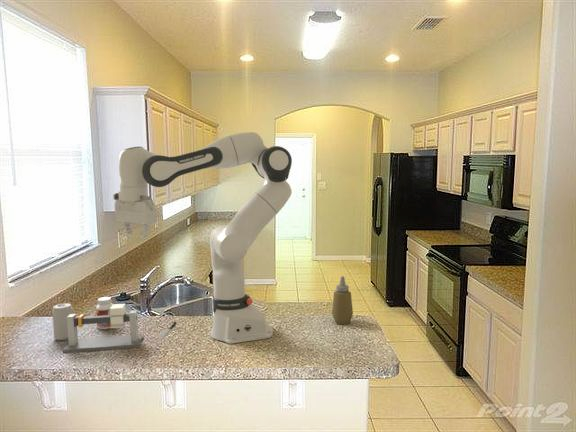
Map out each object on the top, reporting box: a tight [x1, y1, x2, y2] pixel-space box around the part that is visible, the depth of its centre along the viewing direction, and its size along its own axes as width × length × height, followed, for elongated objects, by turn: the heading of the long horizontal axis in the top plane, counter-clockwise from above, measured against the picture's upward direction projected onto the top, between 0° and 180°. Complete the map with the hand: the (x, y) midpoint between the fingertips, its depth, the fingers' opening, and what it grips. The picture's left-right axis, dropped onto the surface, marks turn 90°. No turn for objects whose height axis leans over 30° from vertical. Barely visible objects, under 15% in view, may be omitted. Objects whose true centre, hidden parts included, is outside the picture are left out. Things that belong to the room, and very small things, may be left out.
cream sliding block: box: [110, 303, 127, 329], centre depth 149 cm, size 4×5×7 cm
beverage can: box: [51, 302, 74, 341], centre depth 155 cm, size 6×6×12 cm
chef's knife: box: [158, 321, 177, 341], centre depth 160 cm, size 19×1×3 cm
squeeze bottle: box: [331, 275, 354, 325], centre depth 167 cm, size 8×8×18 cm
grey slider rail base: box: [62, 309, 144, 353], centre depth 149 cm, size 24×9×11 cm, turn 99°
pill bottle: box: [95, 296, 114, 330], centre depth 166 cm, size 6×6×11 cm
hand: (136, 235), depth 149 cm, fingers open, 8 cm apart
